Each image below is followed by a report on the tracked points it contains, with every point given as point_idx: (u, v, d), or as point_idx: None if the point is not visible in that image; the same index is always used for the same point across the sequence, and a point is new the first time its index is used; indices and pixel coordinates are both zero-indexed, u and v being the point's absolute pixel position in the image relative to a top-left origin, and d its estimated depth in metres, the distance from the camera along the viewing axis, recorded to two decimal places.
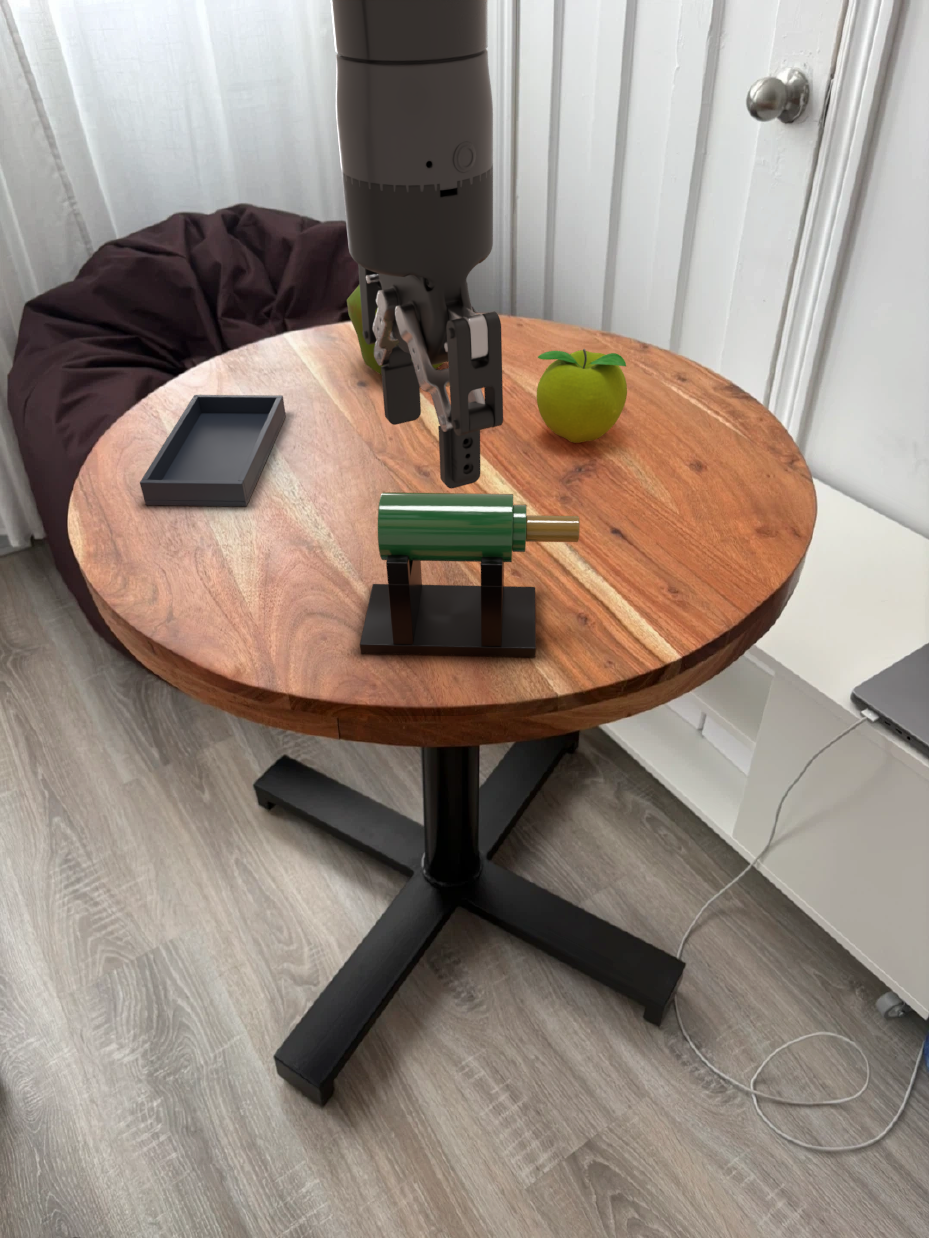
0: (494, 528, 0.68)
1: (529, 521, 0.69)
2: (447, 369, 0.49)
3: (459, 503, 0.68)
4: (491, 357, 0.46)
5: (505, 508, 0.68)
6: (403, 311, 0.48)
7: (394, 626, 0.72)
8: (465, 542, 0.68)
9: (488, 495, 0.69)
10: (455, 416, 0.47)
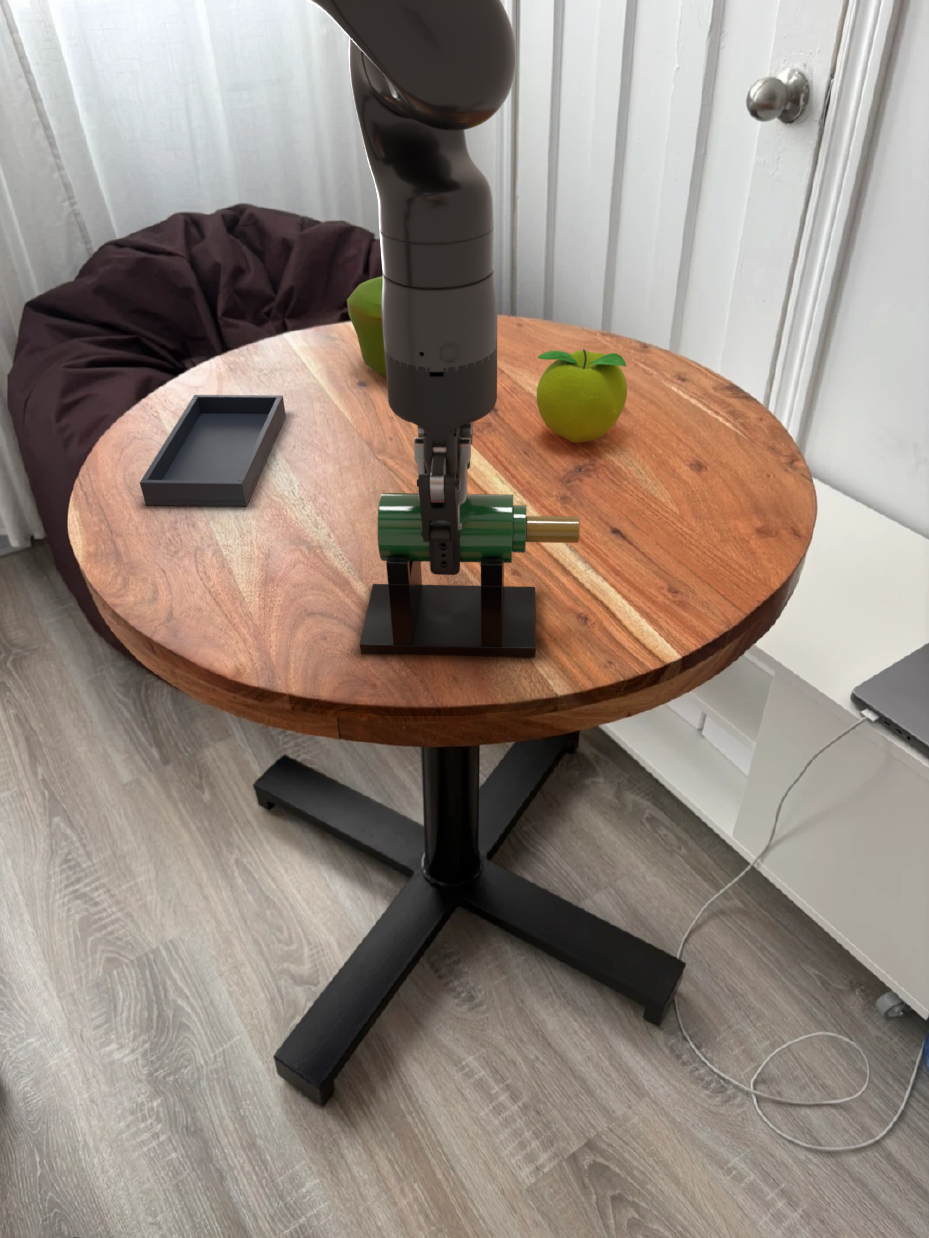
0: (494, 529, 0.68)
1: (529, 522, 0.69)
2: None
3: None
4: (447, 504, 0.62)
5: (505, 510, 0.68)
6: (415, 445, 0.64)
7: (394, 626, 0.72)
8: (465, 544, 0.68)
9: (488, 496, 0.69)
10: None
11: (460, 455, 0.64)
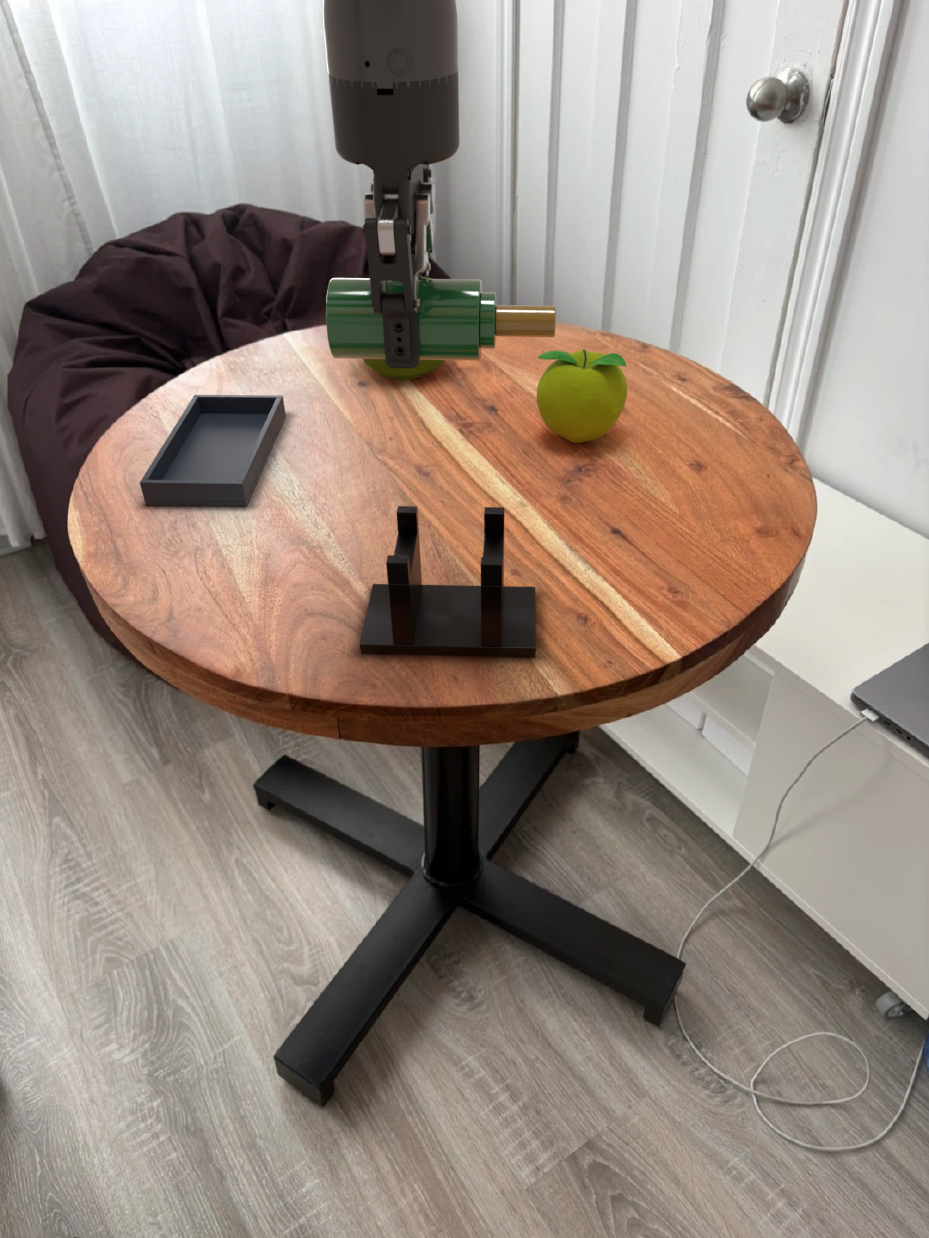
0: (458, 312, 0.60)
1: (499, 310, 0.61)
2: None
3: (419, 286, 0.60)
4: (399, 257, 0.53)
5: (471, 291, 0.60)
6: (366, 201, 0.56)
7: (394, 626, 0.72)
8: (425, 330, 0.60)
9: (452, 279, 0.61)
10: None
11: (417, 213, 0.56)
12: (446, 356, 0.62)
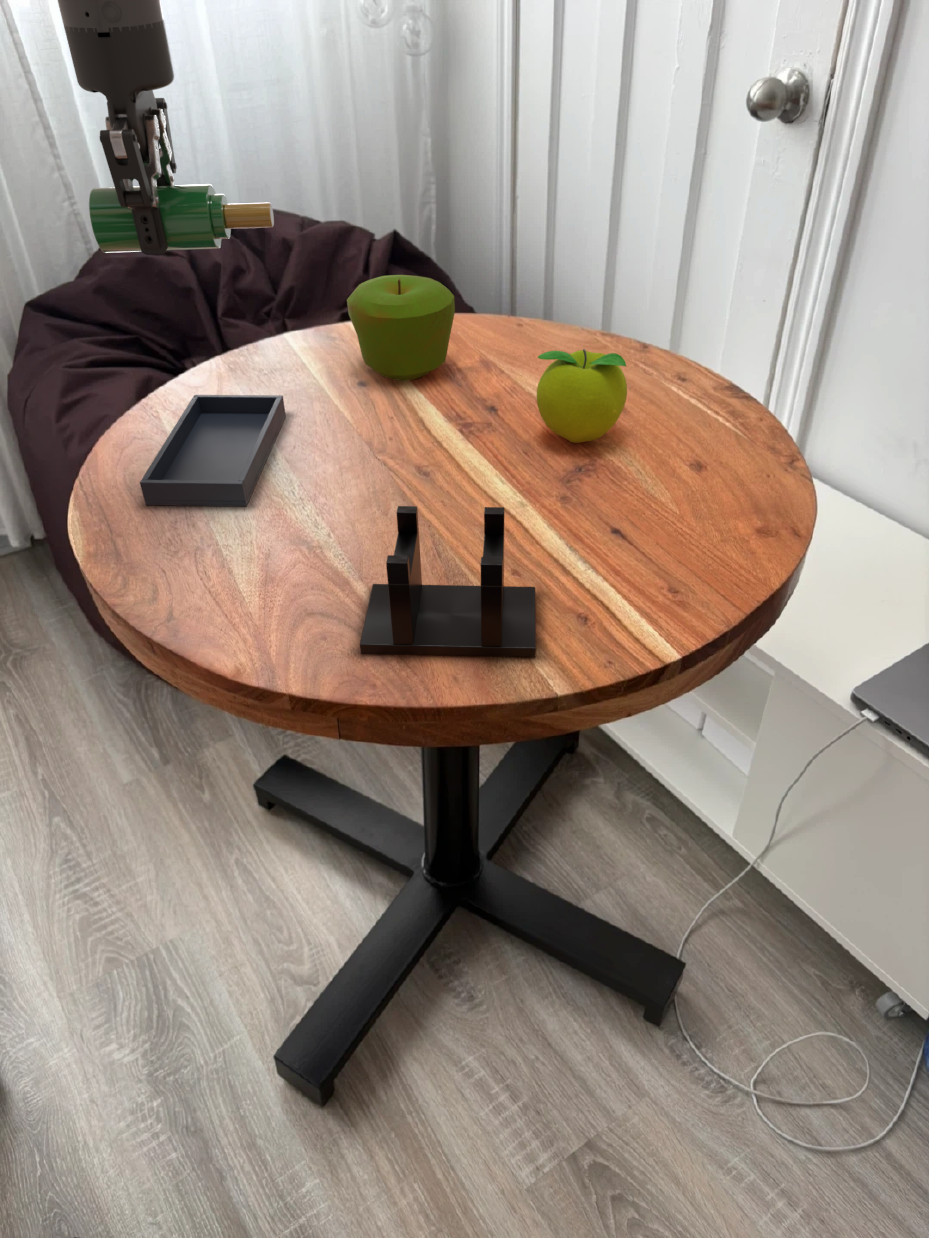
0: (191, 208, 0.78)
1: (226, 207, 0.80)
2: None
3: (161, 190, 0.79)
4: (130, 160, 0.72)
5: (201, 191, 0.79)
6: (106, 122, 0.74)
7: (394, 626, 0.72)
8: (168, 223, 0.79)
9: (188, 185, 0.80)
10: None
11: (147, 129, 0.75)
12: (190, 245, 0.81)
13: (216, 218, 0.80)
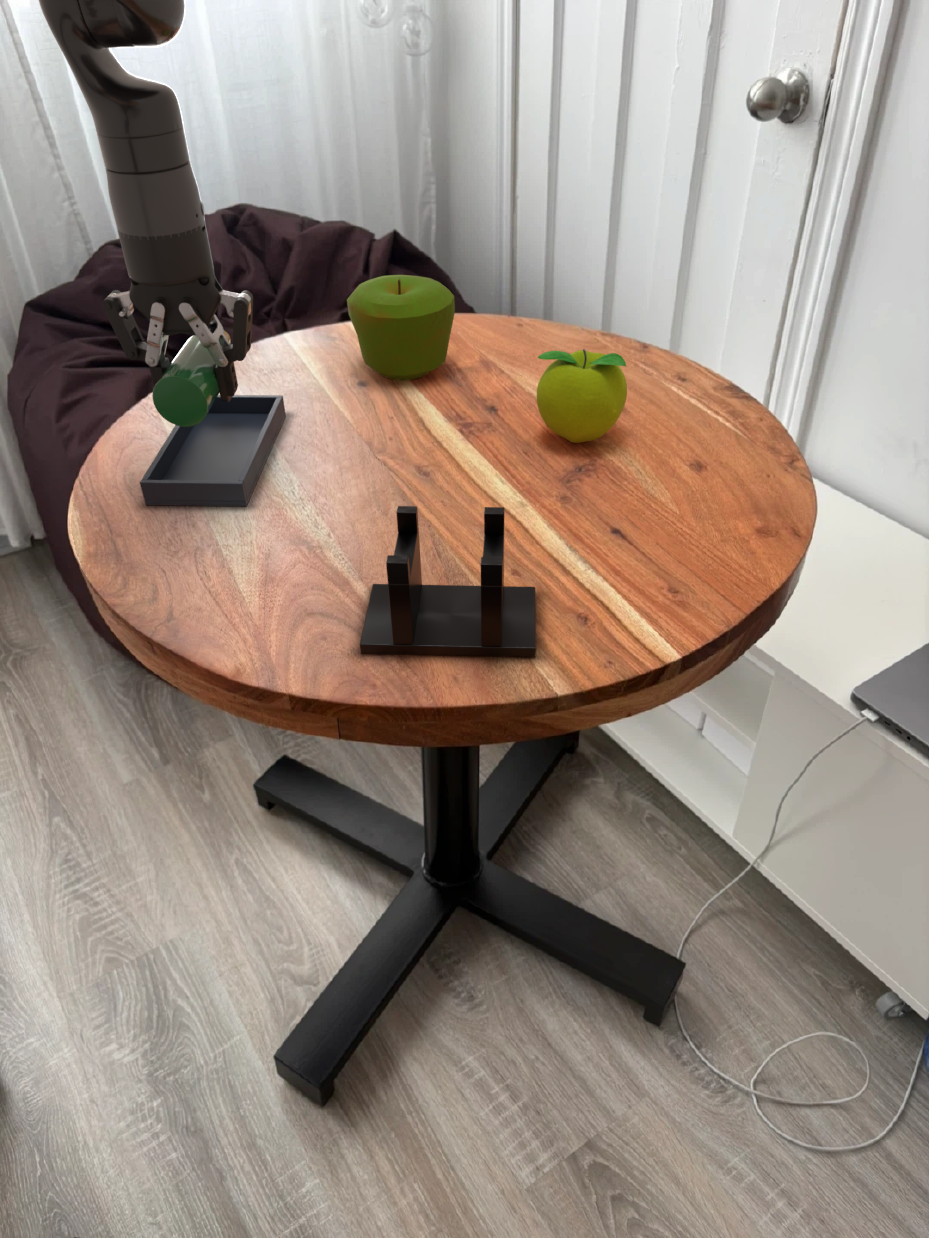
0: None
1: None
2: (215, 332, 0.87)
3: (199, 350, 0.90)
4: (250, 315, 0.87)
5: None
6: (190, 305, 0.84)
7: (394, 626, 0.72)
8: None
9: (193, 341, 0.91)
10: (238, 351, 0.87)
11: None
12: None
13: None
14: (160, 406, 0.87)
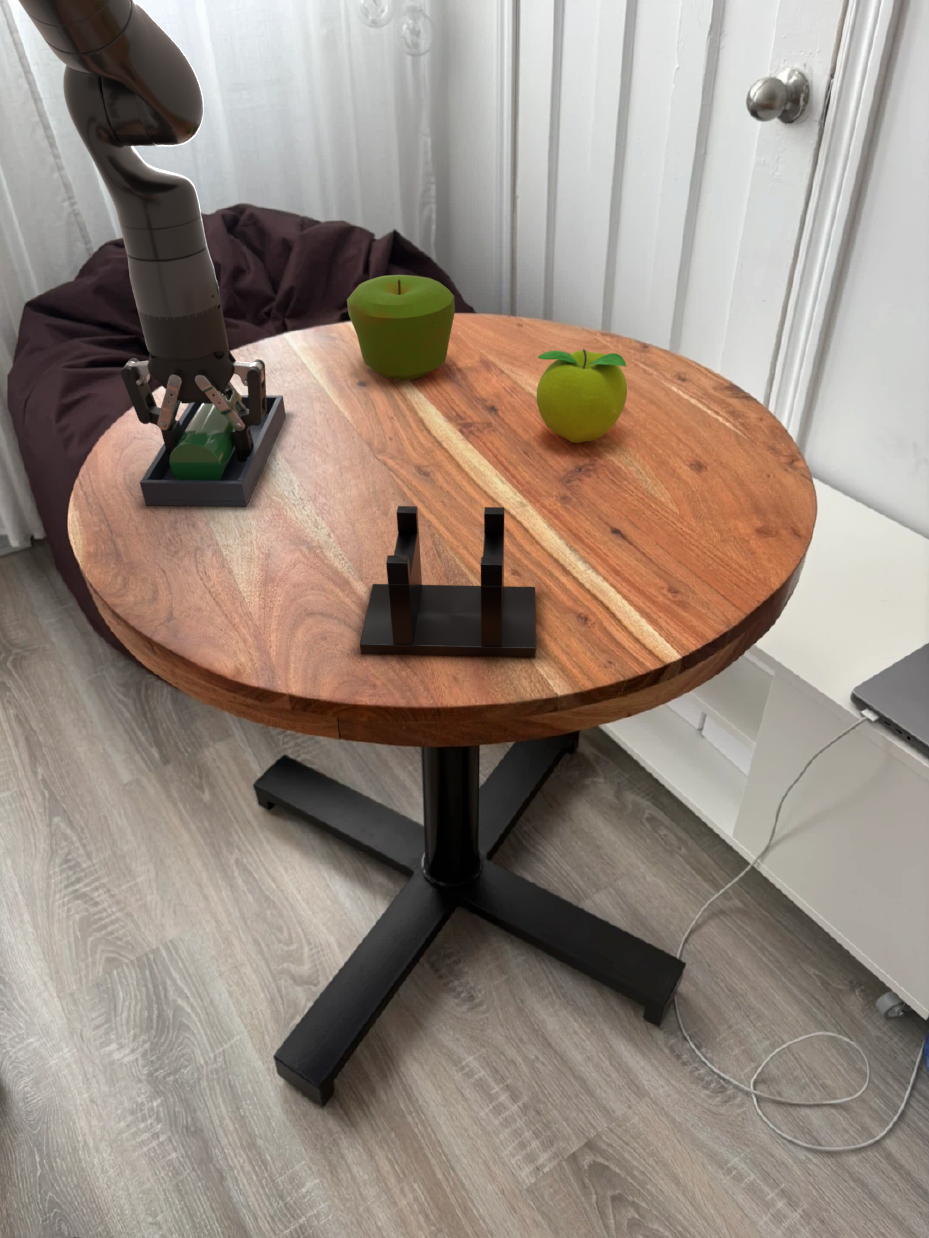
0: None
1: None
2: (230, 399, 0.91)
3: (214, 416, 0.94)
4: (263, 381, 0.91)
5: None
6: (205, 376, 0.88)
7: (394, 626, 0.72)
8: None
9: (208, 405, 0.96)
10: (254, 416, 0.91)
11: None
12: None
13: None
14: (176, 470, 0.91)
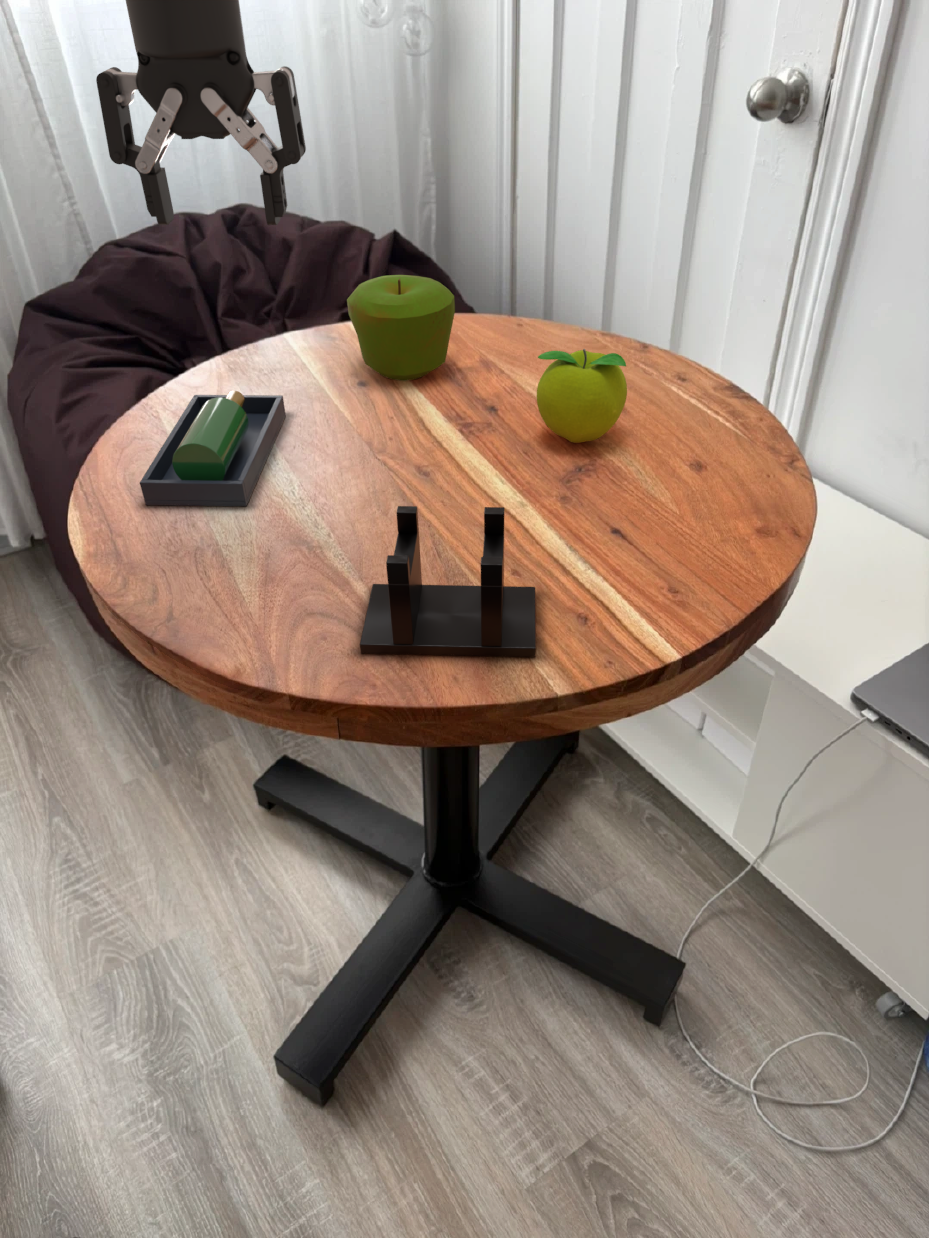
0: (241, 416, 0.97)
1: None
2: (253, 127, 0.68)
3: (220, 416, 0.94)
4: (295, 98, 0.67)
5: (232, 403, 0.97)
6: (213, 89, 0.65)
7: (394, 626, 0.72)
8: (240, 435, 0.96)
9: (213, 405, 0.96)
10: (290, 149, 0.68)
11: None
12: None
13: None
14: (178, 468, 0.91)
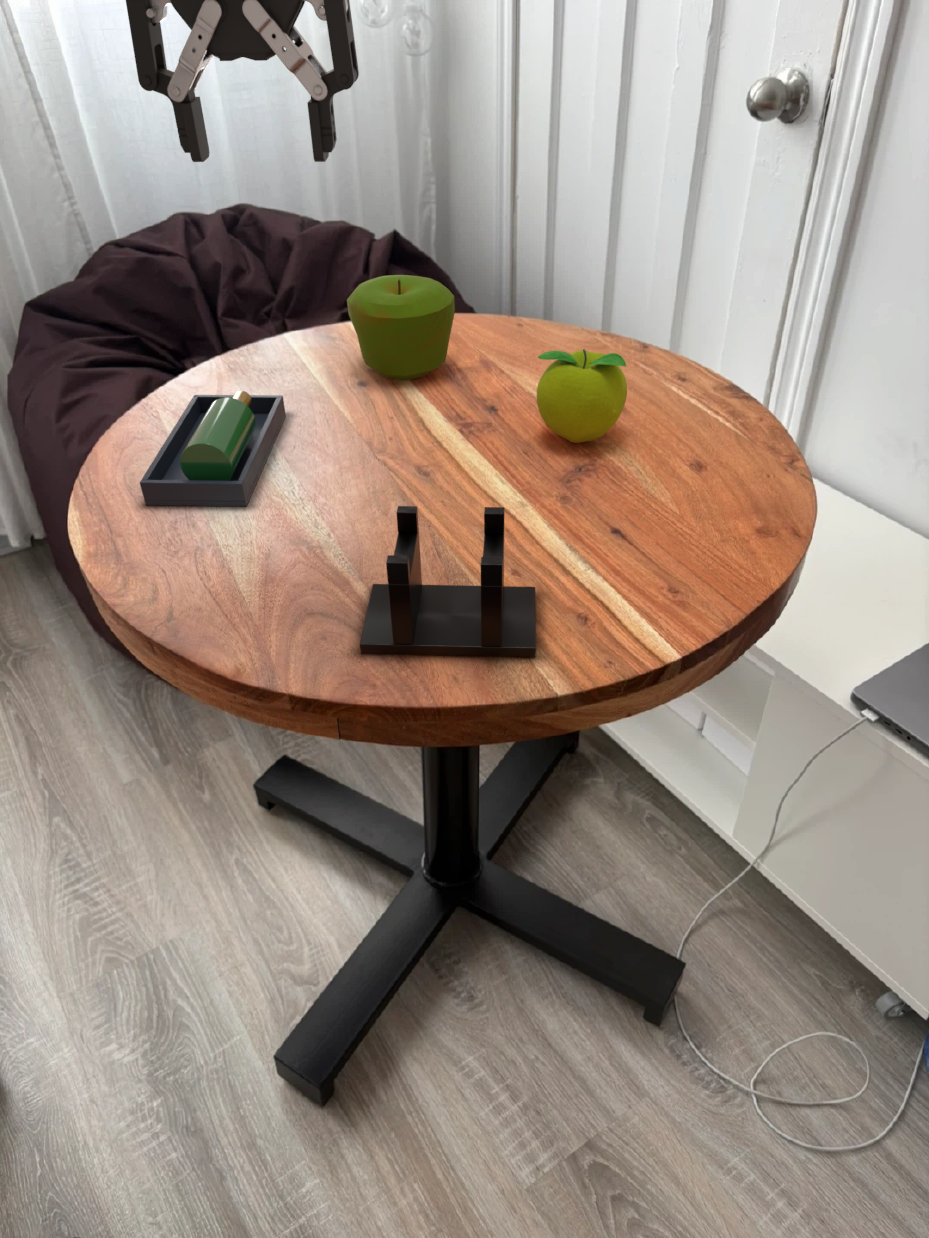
0: (251, 423, 0.97)
1: None
2: (300, 47, 0.60)
3: (234, 420, 0.94)
4: (348, 13, 0.59)
5: (245, 407, 0.97)
6: (257, 1, 0.57)
7: (394, 626, 0.72)
8: (247, 442, 0.96)
9: (228, 406, 0.96)
10: (342, 72, 0.60)
11: None
12: None
13: None
14: (185, 463, 0.91)
